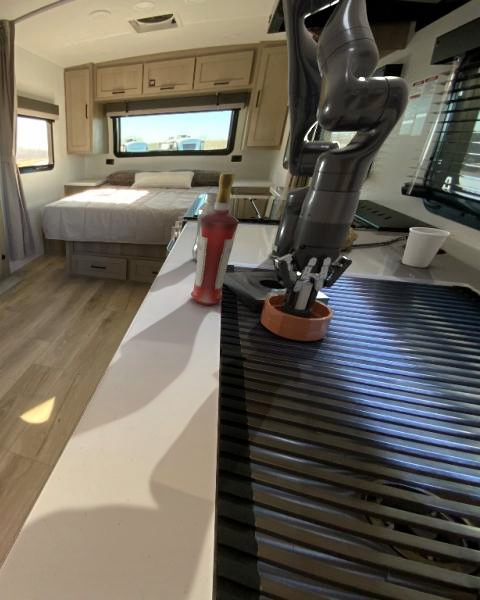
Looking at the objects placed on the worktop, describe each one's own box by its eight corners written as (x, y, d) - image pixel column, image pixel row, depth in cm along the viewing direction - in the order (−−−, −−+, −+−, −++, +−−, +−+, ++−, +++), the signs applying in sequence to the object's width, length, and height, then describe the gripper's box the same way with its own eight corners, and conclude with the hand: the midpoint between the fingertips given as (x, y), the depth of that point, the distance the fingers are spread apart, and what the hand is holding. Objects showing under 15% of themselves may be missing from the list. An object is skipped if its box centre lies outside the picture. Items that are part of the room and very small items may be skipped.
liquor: (190, 292, 82) (209, 171, 69) (222, 297, 79) (247, 172, 67) (187, 304, 76) (206, 174, 63) (221, 310, 73) (248, 175, 61)
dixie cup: (441, 269, 93) (459, 235, 89) (407, 268, 95) (423, 233, 90) (420, 260, 101) (436, 227, 96) (389, 258, 102) (402, 226, 98)
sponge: (350, 257, 107) (364, 233, 118) (352, 234, 104) (366, 212, 115) (303, 255, 117) (320, 233, 128) (303, 234, 114) (320, 213, 124)
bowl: (300, 313, 71) (307, 292, 69) (339, 342, 61) (348, 319, 59) (249, 315, 71) (254, 294, 69) (279, 344, 61) (286, 320, 59)
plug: (297, 313, 68) (309, 277, 64) (313, 326, 63) (327, 288, 60) (273, 314, 67) (283, 278, 64) (288, 326, 63) (299, 288, 59)
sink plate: (283, 281, 87) (286, 271, 86) (325, 310, 73) (329, 297, 71) (223, 283, 87) (225, 272, 85) (253, 311, 72) (256, 299, 71)
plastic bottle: (215, 264, 99) (227, 195, 90) (191, 263, 101) (201, 195, 92) (211, 257, 105) (223, 192, 96) (189, 256, 106) (198, 191, 97)
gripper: (299, 222, 53) (272, 316, 60) (384, 221, 53) (347, 315, 61) (273, 213, 60) (252, 299, 67) (348, 211, 60) (319, 297, 67)
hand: (297, 306), depth 64 cm, fingers closed on plug, 2 cm apart
